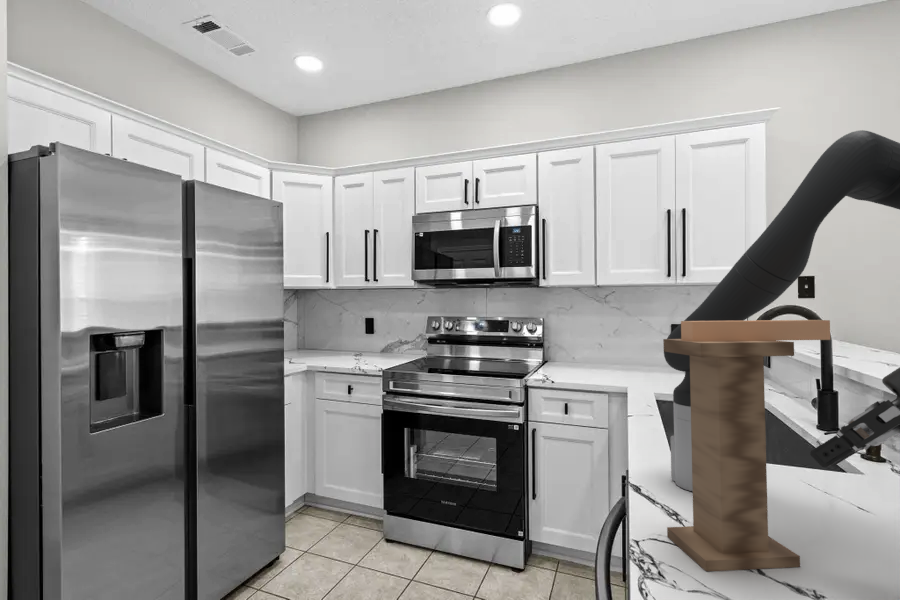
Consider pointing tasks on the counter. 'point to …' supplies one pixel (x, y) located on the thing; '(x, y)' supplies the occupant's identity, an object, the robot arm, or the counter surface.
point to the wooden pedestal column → (729, 456)
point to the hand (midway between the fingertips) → (821, 459)
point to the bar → (755, 330)
